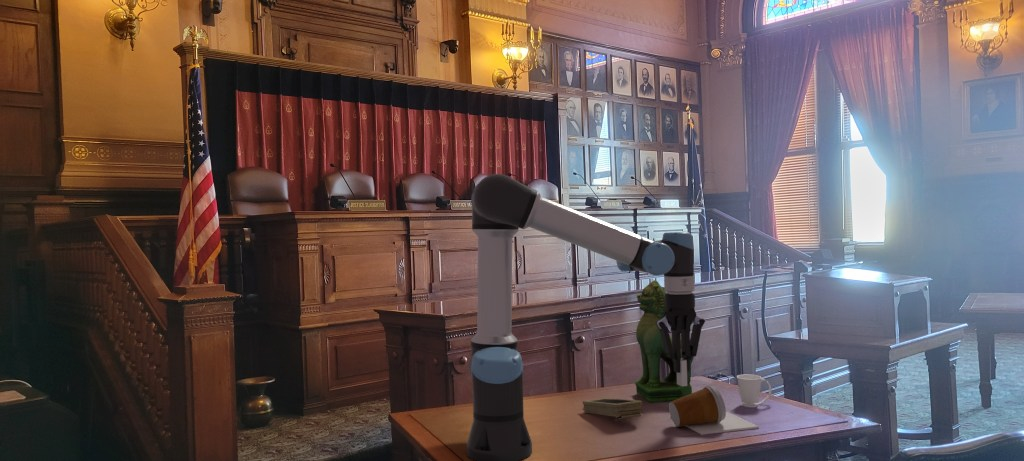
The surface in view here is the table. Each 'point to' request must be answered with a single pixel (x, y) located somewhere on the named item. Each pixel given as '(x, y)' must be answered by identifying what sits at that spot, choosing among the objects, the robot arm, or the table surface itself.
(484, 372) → the robot arm
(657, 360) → the lion statue
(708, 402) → the disposable coffee cup
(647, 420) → the table surface
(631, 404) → the box
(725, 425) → the felt mat
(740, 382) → the cup
